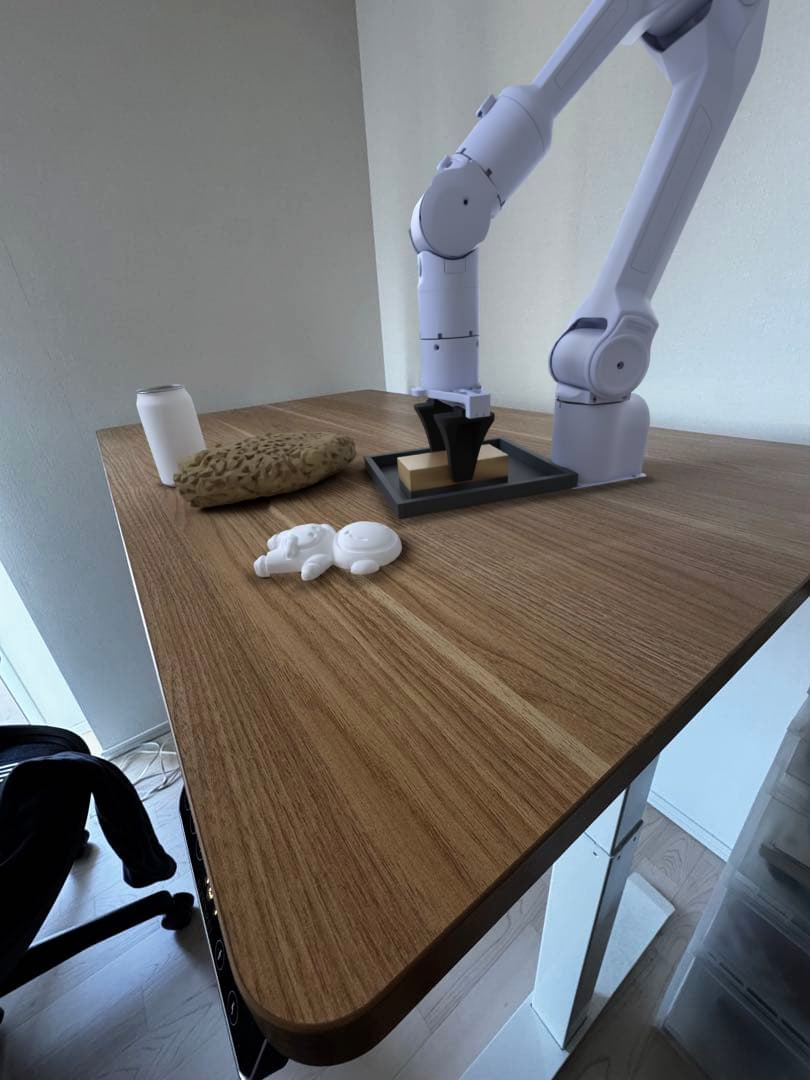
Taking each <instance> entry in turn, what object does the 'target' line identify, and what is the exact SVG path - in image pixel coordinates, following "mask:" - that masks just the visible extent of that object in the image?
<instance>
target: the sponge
mask: <svg viewBox="0 0 810 1080" xmlns="http://www.w3.org/2000/svg"><path fill="white" fill-rule="evenodd" d="M356 456H357V450H356V442H355V440H354V439H353V438H351V437H349V436H346V435H343V434H340V433H335V432H331V431H301V432H294V431H293V432H291V431H290V432H278V433H270V432H268V433H265V434H261V435H257V436H251V437H249V438H246V439H243V440H242V441H234V442H232V443H229V444H227V443H224V442H221V443H217V444H215V445H213V446H211V447H210V448H208V449H206V450H203V451H201V452H199V453H194V454H193V455H191V456H188V457H183V458H182V459H181V460H180V462H179V463H178V467H179V468H178V473H177V474H174V476H173V480H174V483H175V487H174V488H175V489H176V492H177V494H179V496H181V498H182V500H183V501H184V502H185V503H186V504H187V505H188V506H189V507H191V508H199V509H201V508H202V509H203V508H209V507H216V506H224V505H229V504H236V503H239V502H243V501H247V500H248V501H249V500H250V501H251V500H256V499H258V498H261V497H262V498H264V497H266V498H267V497H268V498H269V497H272V496H276V495H281V494H289V493H293V492H296V491H298V490H301V489H305V488H307V487H311V486H313V485H316V484H317V483H319V482H321V481H323V480H325V479H327V478H329V477H332V476H333V475H336V474H338V473H340V472H341V471H343V470H344V469H346V468H347V467H348V465H350V464H352V463H353V462H354V460H355V458H356Z"/></svg>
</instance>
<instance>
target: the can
mask: <svg viewBox="0 0 810 1080" xmlns="http://www.w3.org/2000/svg"><path fill="white" fill-rule="evenodd" d="M185 387H186V385H185V384H168V385H167V384H166V385H159V386H152V387H145V388H140V389H137V390H135V393H136V396H137V397H136V402H135V403H136V404H135V405H136V409H137V412H138V415H139V419H140V421H141V425H142V428H143V431H144V434H145V436H146V440H147V443H148V445H149V448H150V451H151V454H152V458H153V460H154V463H155V467H156V469H157V472H158V475H159V478H160V480H161V483H162V484H164V485H165V486H167V487H170V488H176V487H175V483H174V480H173V476H174V474H177V473H178V468H179V467H178V463H179V462H180V460H181V459H182V458H183V457H188V456H191V455H193V454H194V453H199V452H201V451H203V450H207V446H206V444H205V439H204V436H203V432H202V429H201V426H200V422H199V417H198V414H197V411H196V408H195V405H194V402H193V401H194V400H193V398H192V396H191V395H190V393H189V392H188V391H187V390H186V388H185Z"/></svg>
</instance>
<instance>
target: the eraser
mask: <svg viewBox="0 0 810 1080" xmlns="http://www.w3.org/2000/svg"><path fill="white" fill-rule="evenodd" d="M397 461H398V474H399V487H400V488H401V490H402V491H403V492H404V493H405V495H406V496H407V497H408V499H415V498H421V497H427V496H432V495H438V494H444V493H450V492H456V491H462V490H468V489H474V488H480V487H486V486H492V485H498V484H504V483H508V464H509V455H507V454H506V453H504V452H502V451H500V450H498V449H497V448H495V447H493V446H491V445H490V444H486V445H482V446H481V449H480V452H479V456H478V460H477V464H476V468H475V472H474V475H473V479H472V480H468V481H462V482H456V483H455V482H453V481H452V479H451V476H450V472H449V466H448V459H447V452H446V451H439V452H432V453H425V454H419V455H412V456H405V457H398V458H397Z"/></svg>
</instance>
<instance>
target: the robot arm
mask: <svg viewBox="0 0 810 1080" xmlns="http://www.w3.org/2000/svg"><path fill="white" fill-rule="evenodd" d="M770 2H771V0H591V1H590V3H589V4H588V5H587V6H586V8H585V10H584V11H583V12H582V14H581V15H580V16H579V18H578V19H577V20H576V22H575V23H574V24H573V26H572V27H571V28H570V30H569V31H568V32H567V34H566V35H565V37H564V38H563V39H562V41H561V42H560V43H559V44H558V46H557V47H556V49H555V50H554V52H553V53H552V54H551V55H550V57H549V59H548V60H547V61H546V62H545V64H544V65H543V66H542V68H541V69H540V70H539V72H538V73H537V75H536V76H535V77H534V78H533V80H532V82H531V83H530V84H524V85H522V84H520V85H518V84H517V85H508V86H506V87H505V88H503V89H502V90H501V92H500V93H499V95H498V96H497V97H495V95H494V94H493V93H490V94H489V95H488V96H487V97H486V98H485V100H484V101H483V102H482V103H481V104H480V106H479V108H478V110H477V111H476V112H475V116H476V118H477V120H478V121H477V123H476V124H475V126H474V127H473V128H472V130H471V131H470V133H469V134H468V135H467V136H466V138H465V139H464V141H463V142H462V143H461V144H460V145H459V147H458V148H457V150H456V151H455V152H454V154H453V155H452V156H451V157H450V156H449V155H448V154H445V155H444V156H443V159H441V161H440V162H439V163H438V165H437V167H436V170H437V172H438V173H437V174H435V175H434V176H433V177H432V180H431V183H430V184H429V186H428V187H427V189H426V190H425V191H424V192H423V194H422V196H421V197H420V198H419V200H418V202H416V205H415V206H414V209H413V210H412V211H413V212H412V214H411V220H410V228H408V230H407V233H408V238H409V243H410V245H411V248H412V249H413V251H414V252H415V254H416V255H417V263H416V269H417V270H416V271H417V276H418V284H417V286H416V287H417V289H416V290H417V307H418V309H417V310H418V328H419V346H420V364H421V365H420V367H421V378H420V380H419V381H420V386H416V387H412V388H410V393H411V396H412V397H414V398H427V399H426V400H425V402H418V403H415V404H413V409H414V411H415V413H416V415H417V416H418V418H419V420H420V422H421V424H422V426H423V430H424V433H425V435H426V438H427V442H428V447H430V451H431V453H432V452H439V451H446V452H447V459H448V466H449V472H450V476H451V479H452V481H453V482H455V483H456V482H462V481H468V480H472V479H473V475H474V472H475V468H476V464H477V460H478V456H479V452H480V449H481V446H482V443H483V440H484V439H486V436H487V434H488V432H489V430H490V428H491V427H492V426H493V424H494V422H495V418H496V416H495V415H496V413H495V412H494V411H491V394H490V393H488V392H486V390H485V389H484V387H483V384H482V383H481V382H480V356H481V355H480V354H481V353H480V351H481V350H480V344H481V343H480V340H481V338H480V337H481V335H480V333H481V332H480V330H481V329H480V328H481V327H480V326H481V325H480V324H481V323H480V322H481V321H480V320H481V318H480V317H481V280H480V247H476V246H477V245H478V244H480V243H482V242H484V241H485V240H486V237H487V235H488V233H489V231H490V226H491V221H492V220H493V219H496V217H497V216H498V215H499V214H500V212H501V211H502V210H503V209H504V208H505V206H506V205H507V204H508V203H509V202H510V200H511V199H512V198H513V197H514V195H515V194H516V193H517V191H519V189H521V187H522V186H523V184H524V183H525V182H526V181H527V179H528V178H529V177H530V176H531V175H532V174H533V173H534V171H535V170H536V169H537V167H538V166H539V165H540V164H541V163H542V161H544V159H545V158H546V157H547V155H548V154H549V153H550V150H551V147H552V143H553V135H554V134H553V132H554V122H555V119H556V118H557V117H558V116H559V114H560V113H561V112H562V111H563V109H564V108H565V107H566V106H567V105H568V104H569V103H570V101H571V100H572V99H573V98H574V97H575V95H577V93H579V91H580V90H581V89H582V87H583V86H584V85H585V84H586V83H587V82H588V81H589V79H590V78H591V77H593V74H594V73H595V72H596V71H597V70H598V69H599V67H601V65H602V64H603V63H604V62H605V60H606V59H607V58H608V57H609V56H610V54H611V53H612V52H613V51H614V50H615V49H616V48H617V46H619V45H620V44H621V45H623V46H627V47H628V46H631V45H632V44H634V42H636V41H637V40H639V42H640V43H641V44H642V46H643V47H644V48H645V50H646V51H647V54H649V56H650V58H651V59H652V61H653V62H654V63H655V65H656V66H657V67H658V69H659V70H660V72H661V74H662V75H663V77H664V78H665V80H666V81H667V82H670V85H671V88H672V93H671V95H670V99H669V101H668V104H667V106H666V108H665V111H664V113H663V116H662V118H661V120H660V124H659V126H658V128H657V130H656V133H655V135H654V138H653V141H652V142H651V143H652V144H651V146H650V148H649V151H648V153H647V156H646V159H645V160H644V163H643V166H642V169H641V171H640V173H639V175H638V178H637V181H636V183H635V186H634V188H633V191H632V193H631V195H630V198H629V200H628V203H627V205H626V207H625V209H624V210H625V211H624V213H623V215H622V217H621V220H620V223H619V225H618V228H617V231H616V233H615V236H614V238H613V241H612V243H611V245H610V248H609V250H608V253H607V254H606V258H605V261H604V263H603V266H602V267H601V271H600V272H599V275H598V278H597V280H596V283H595V286H594V288H593V290H592V291H590V293H589V294H588V295H587V297H585V298H584V300H583V301H582V302H581V303H580V304H579V305H578V307H577V308H575V310H574V311H573V313H572V315H571V317H570V320H569V323H568V325H567V326H566V328H565V329H564V330H563V332H562V333H560V335H558V337H557V338H556V339H555V340H554V341H553V343H552V345H551V347H550V350H549V352H548V355H547V368H548V372H549V374H550V377H551V378H552V380H553V381H554V382H555V383H556V390H555V396H554V397H555V398H554V405H553V406H554V407H553V419H552V431H551V444H550V445H551V446H550V455H549V457H550V459H549V460H551V461H552V462H553V463H554V464H556V465H558V466H562V467H566V468H568V469H570V470H572V471H574V472H576V473H578V483H577V487H574V488H571V489H570V490H575V489H581V488H588V487H593V486H594V487H595V486H599V485H604V484H611V483H616V482H621V481H627V480H633V479H638V478H644V477H645V478H647V474H646V473H643V472H642V470H643V466H644V465H643V464H644V459H645V454H646V448H647V443H648V436H649V431H650V425H651V413H650V412H651V411H650V408H649V405H648V403H647V401H646V400H645V398H643V397H642V396H641V395H640V394H638V393H635V392H634V391H635V390H636V389H637V388H638V387H639V386H640V385H641V383H642V382H643V381H644V379H645V377H646V375H647V373H648V370H649V367H650V363H651V351H652V349H651V348H652V344H653V341H654V337H655V335H656V333H657V331H658V328H659V326H660V324H659V320H658V317H657V314H656V313H655V311H654V308H653V306H652V303H651V302H652V299H653V297H654V295H655V293H656V291H657V289H658V286H659V284H660V282H661V280H662V277H663V275H664V273H665V270H666V269H667V267H668V264H669V261H670V260H671V257H672V255H673V253H674V250H675V248H676V246H677V244H678V243H679V240H680V238H681V235H682V233H683V231H684V229H685V226H686V224H687V222H688V220H689V217H690V215H691V213H692V211H693V208H694V206H695V204H696V202H697V200H698V197H699V196H700V193H701V191H702V189H703V187H704V185H705V182H706V180H707V178H708V176H709V173H710V171H711V169H712V166H713V165H714V162H715V160H716V158H717V157H718V156H717V155H718V153H719V151H720V149H721V146H722V144H723V142H724V141H725V138H726V136H727V133H728V131H729V129H730V127H731V125H732V122H733V120H734V118H735V116H736V113H737V111H738V109H739V107H740V105H741V102H742V100H743V98H744V96H745V93H746V92H747V89H748V87H749V85H750V83H751V80H752V78H753V76H754V74H755V71H756V68H757V66H758V63H759V60H760V57H761V53H762V47H763V41H764V36H765V30H766V25H767V19H768V12H769V8H770Z"/></svg>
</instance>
